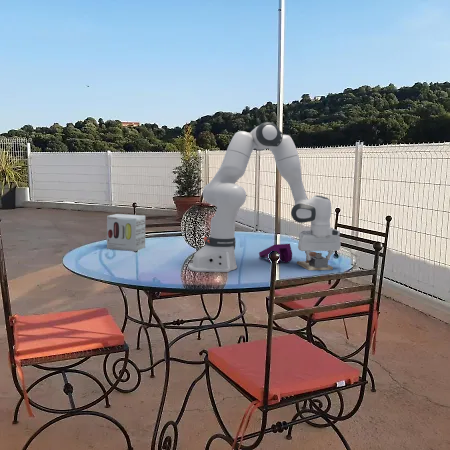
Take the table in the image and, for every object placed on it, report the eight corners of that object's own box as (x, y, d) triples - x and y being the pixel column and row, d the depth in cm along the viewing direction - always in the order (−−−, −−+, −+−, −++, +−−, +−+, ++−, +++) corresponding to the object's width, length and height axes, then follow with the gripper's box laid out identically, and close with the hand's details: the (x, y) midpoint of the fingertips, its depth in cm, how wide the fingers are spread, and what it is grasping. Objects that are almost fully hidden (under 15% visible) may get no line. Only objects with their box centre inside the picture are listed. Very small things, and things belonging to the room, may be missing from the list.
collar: (314, 267, 210) (315, 259, 209) (308, 264, 216) (309, 256, 216) (327, 267, 212) (328, 258, 211) (321, 264, 218) (321, 256, 217)
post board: (308, 270, 210) (309, 254, 209) (296, 263, 223) (297, 249, 222) (332, 269, 213) (333, 254, 212) (319, 263, 226) (320, 248, 225)
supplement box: (106, 249, 246) (105, 215, 243) (117, 245, 258) (117, 213, 256) (135, 251, 242) (136, 217, 239) (145, 247, 254) (146, 215, 252)
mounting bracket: (258, 270, 234) (277, 261, 218) (255, 254, 236) (274, 244, 221) (274, 268, 238) (293, 260, 223) (270, 253, 240) (289, 243, 225)
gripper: (302, 231, 206) (300, 261, 208) (343, 231, 211) (341, 260, 213) (296, 229, 212) (295, 259, 214) (336, 229, 217) (334, 258, 219)
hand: (318, 260), depth 214 cm, fingers open, 8 cm apart
